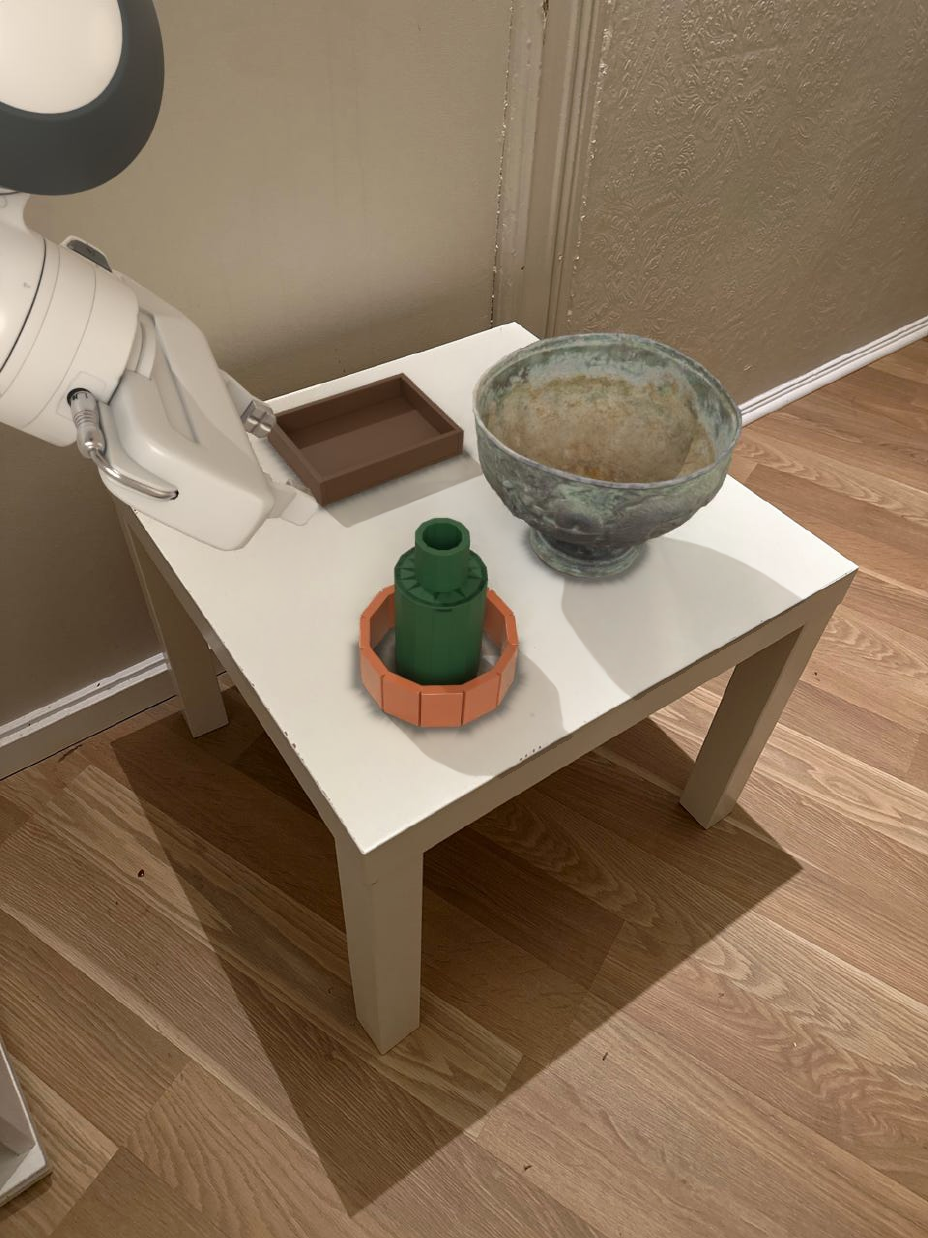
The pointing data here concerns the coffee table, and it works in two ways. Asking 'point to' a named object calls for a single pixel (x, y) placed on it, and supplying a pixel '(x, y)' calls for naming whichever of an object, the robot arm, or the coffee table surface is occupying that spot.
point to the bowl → (602, 444)
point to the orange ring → (436, 700)
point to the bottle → (439, 606)
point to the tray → (364, 437)
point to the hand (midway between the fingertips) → (288, 464)
